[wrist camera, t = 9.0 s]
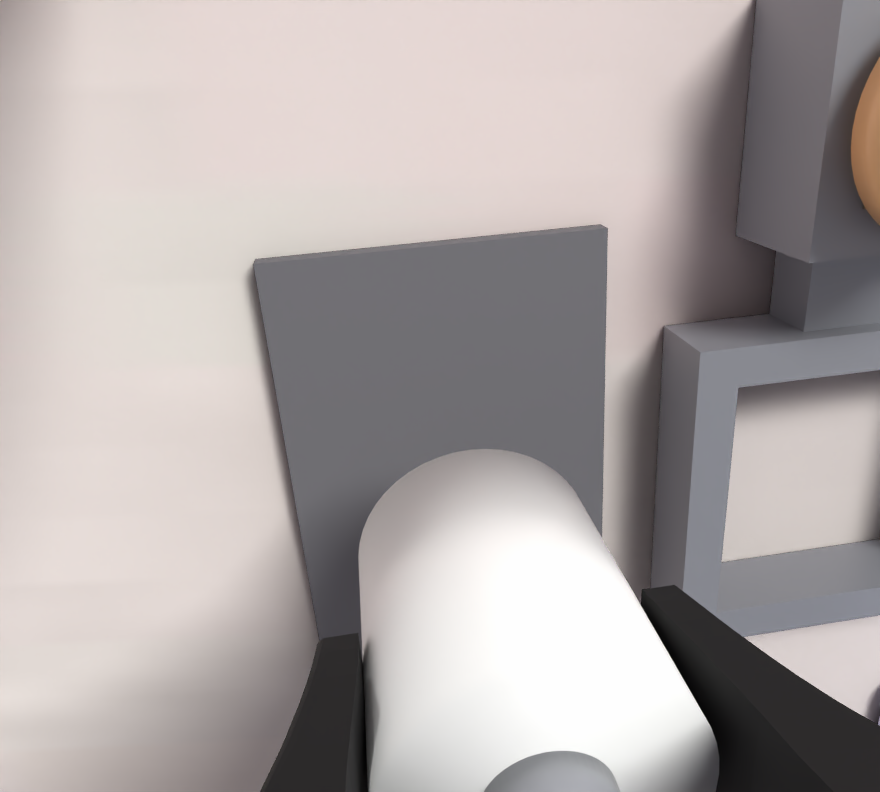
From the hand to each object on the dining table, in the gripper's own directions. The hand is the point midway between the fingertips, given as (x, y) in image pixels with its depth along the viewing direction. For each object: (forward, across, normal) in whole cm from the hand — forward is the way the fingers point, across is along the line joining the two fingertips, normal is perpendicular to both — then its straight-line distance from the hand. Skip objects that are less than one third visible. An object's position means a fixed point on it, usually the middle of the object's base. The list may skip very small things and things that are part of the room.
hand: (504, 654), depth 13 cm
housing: (+7, -10, -4) cm, 13 cm away
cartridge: (+3, 0, 0) cm, 3 cm away
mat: (+7, 0, 0) cm, 7 cm away
